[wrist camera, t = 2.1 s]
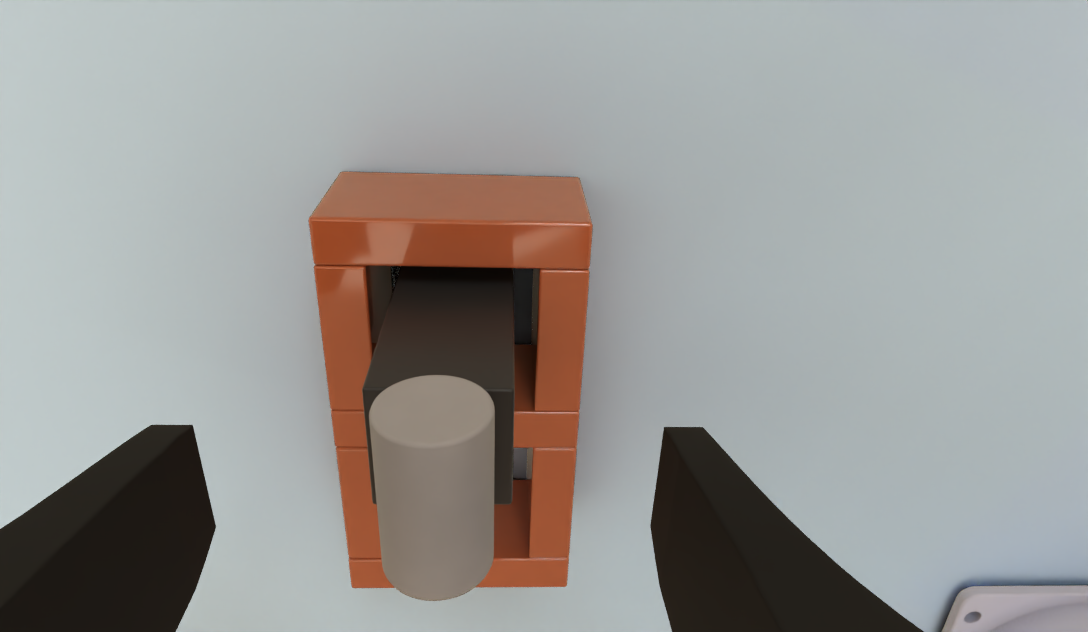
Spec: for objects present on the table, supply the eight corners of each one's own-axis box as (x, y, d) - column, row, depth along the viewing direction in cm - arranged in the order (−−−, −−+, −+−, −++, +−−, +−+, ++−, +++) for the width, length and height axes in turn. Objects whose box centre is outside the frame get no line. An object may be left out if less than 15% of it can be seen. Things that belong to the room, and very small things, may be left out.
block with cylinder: (510, 336, 19) (512, 602, 11) (415, 335, 19) (353, 603, 11) (513, 224, 17) (516, 445, 10) (409, 222, 17) (335, 444, 10)
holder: (559, 505, 21) (567, 588, 19) (371, 505, 21) (351, 589, 18) (580, 176, 17) (593, 223, 14) (339, 170, 16) (307, 217, 14)
